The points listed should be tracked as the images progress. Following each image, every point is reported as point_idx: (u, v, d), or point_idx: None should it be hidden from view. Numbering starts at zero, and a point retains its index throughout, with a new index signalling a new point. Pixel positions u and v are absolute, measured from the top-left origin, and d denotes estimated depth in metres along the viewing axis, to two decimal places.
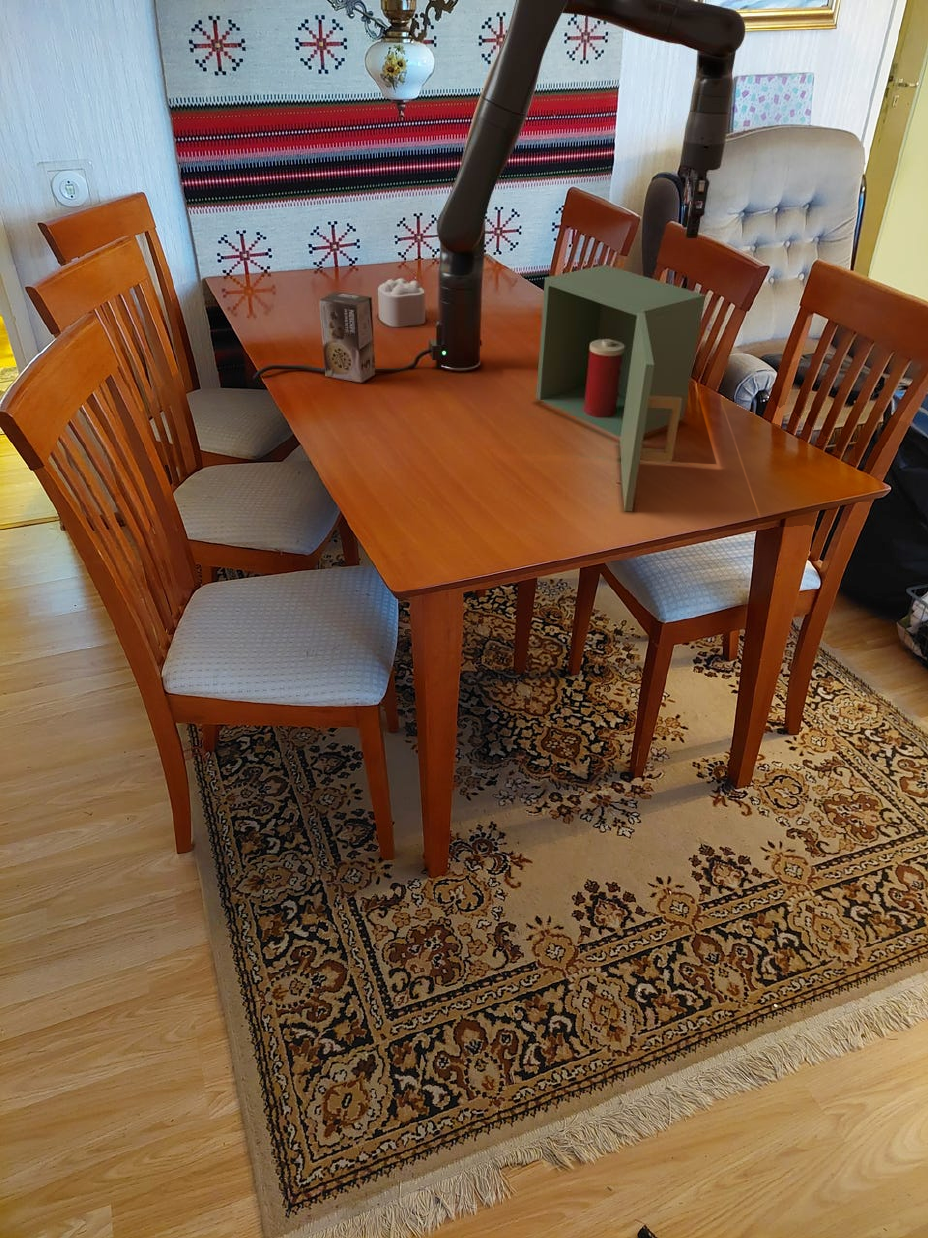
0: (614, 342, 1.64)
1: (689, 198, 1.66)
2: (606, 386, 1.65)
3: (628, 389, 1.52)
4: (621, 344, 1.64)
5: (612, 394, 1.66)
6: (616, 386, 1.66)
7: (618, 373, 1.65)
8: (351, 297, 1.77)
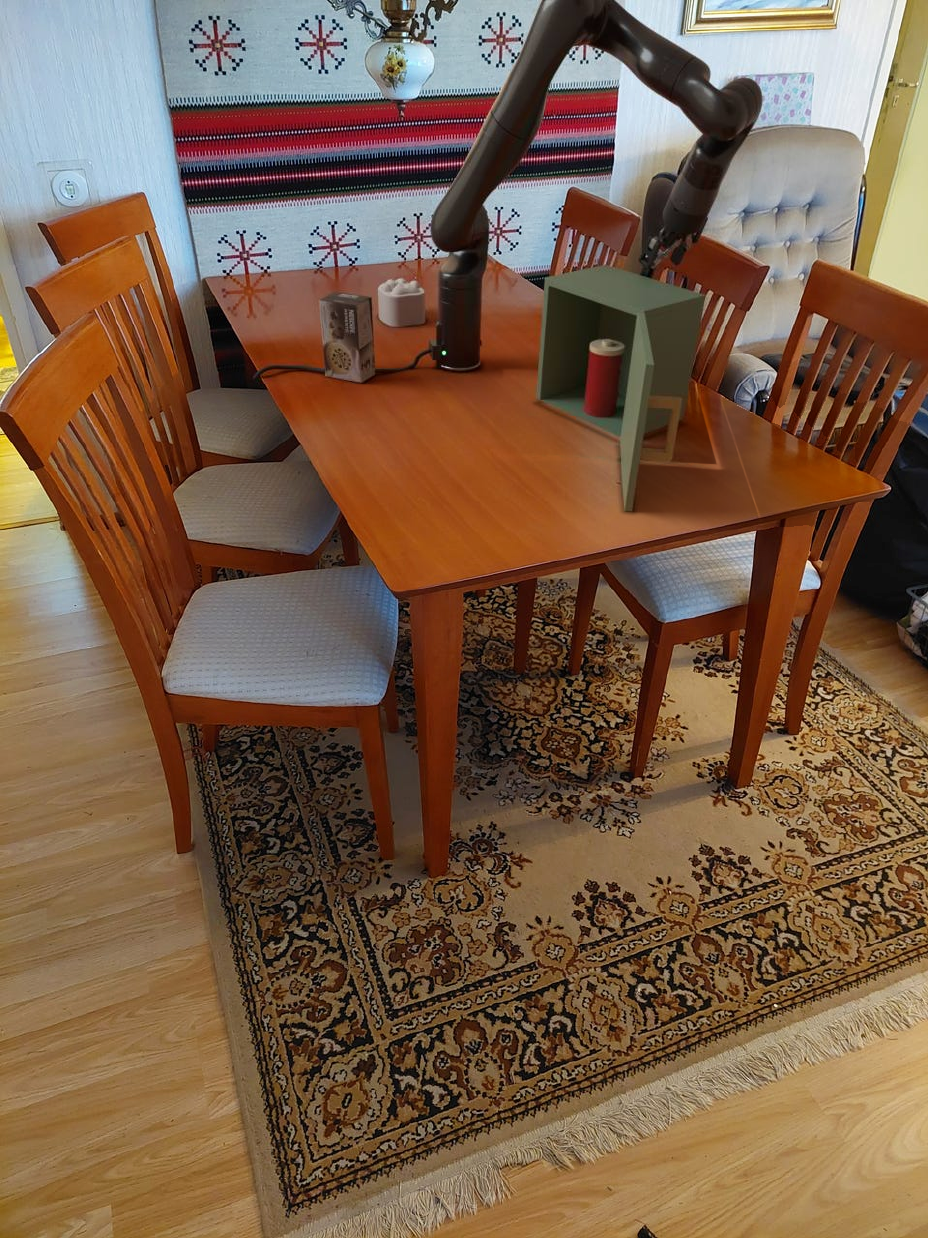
0: (614, 342, 1.64)
1: None
2: (606, 386, 1.65)
3: (628, 389, 1.52)
4: (621, 344, 1.64)
5: (612, 394, 1.66)
6: (616, 386, 1.66)
7: (618, 373, 1.65)
8: (351, 297, 1.77)
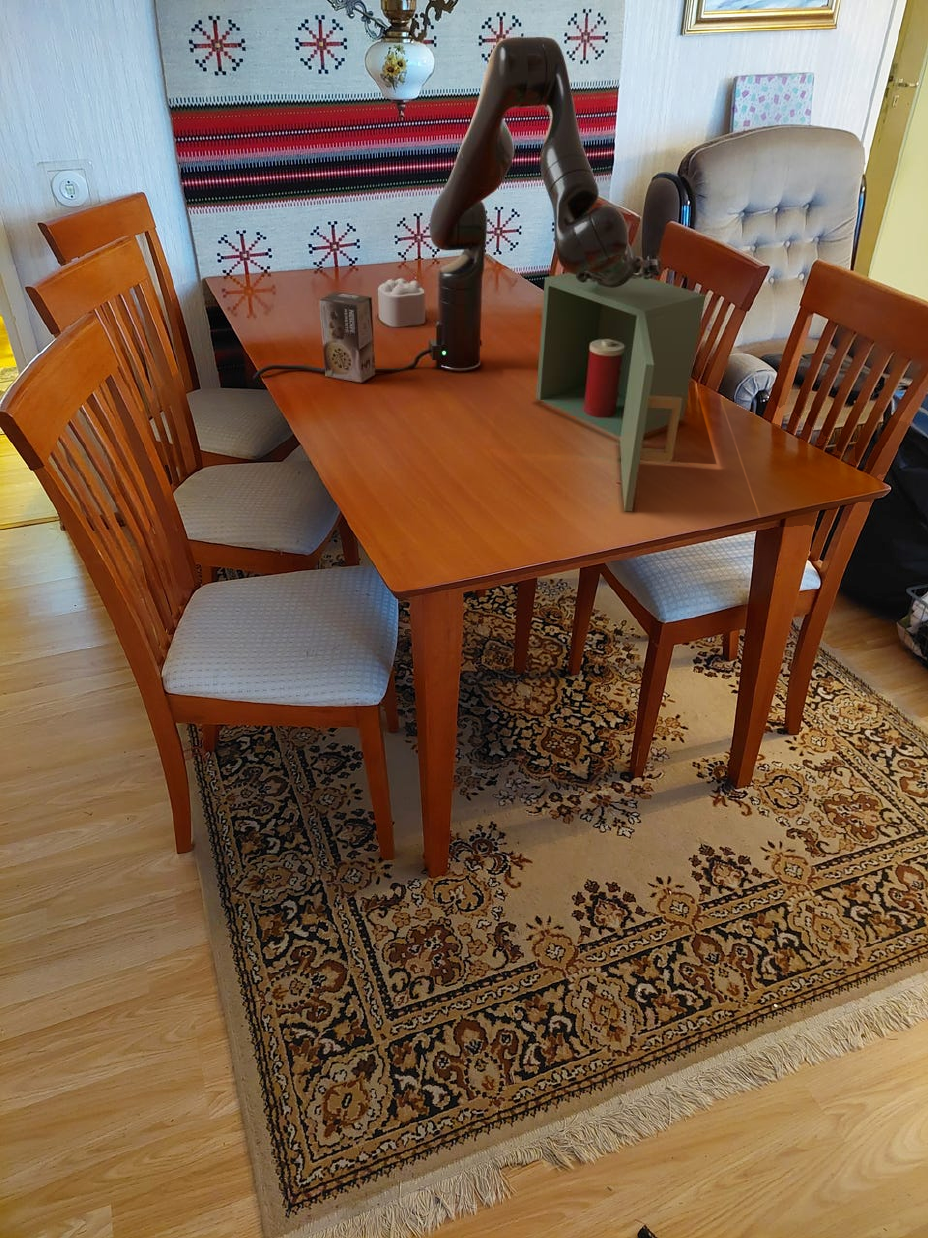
0: (614, 342, 1.64)
1: None
2: (606, 386, 1.65)
3: (628, 389, 1.52)
4: (621, 344, 1.64)
5: (612, 394, 1.66)
6: (616, 386, 1.66)
7: (618, 373, 1.65)
8: (351, 297, 1.77)
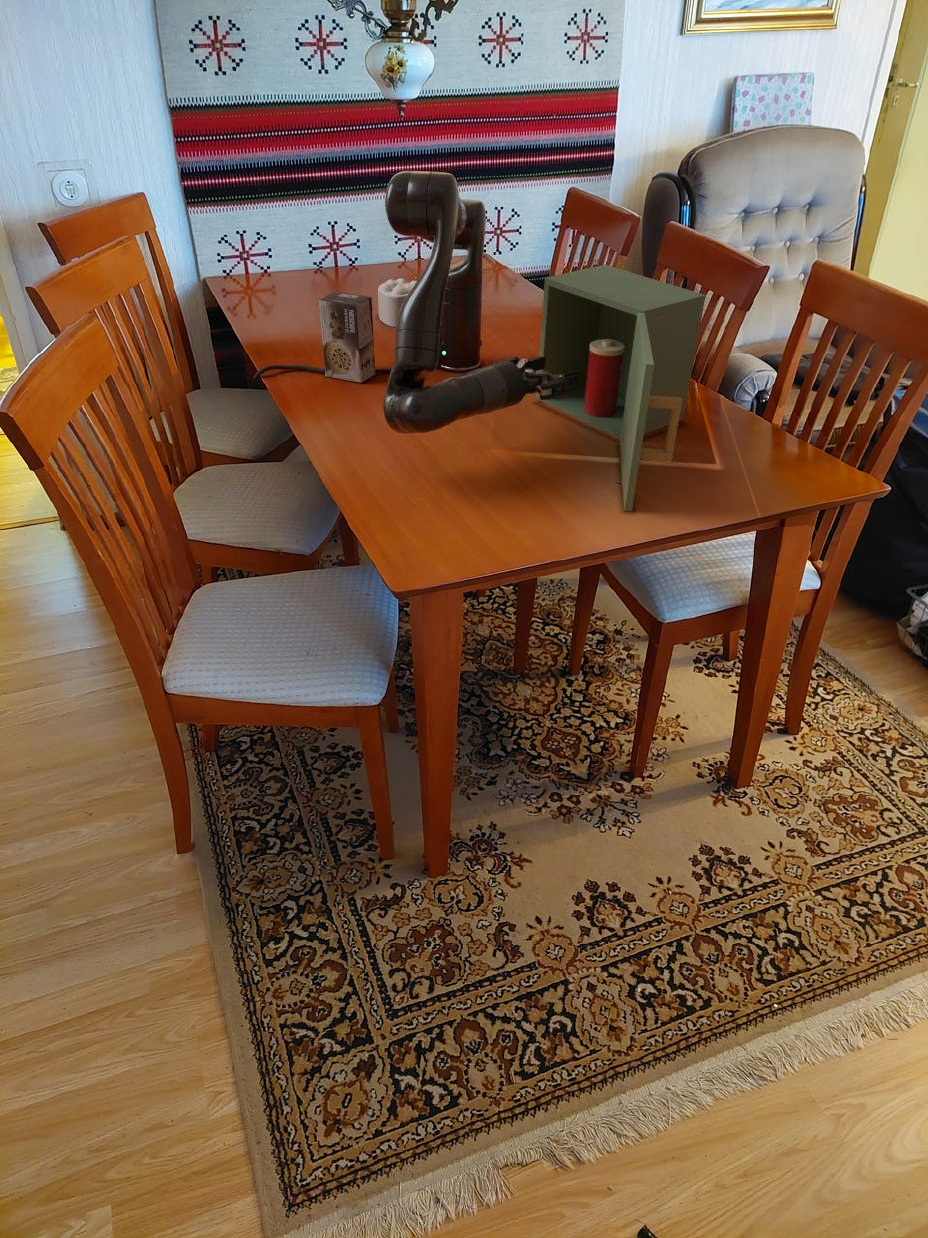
0: (614, 342, 1.64)
1: None
2: (606, 386, 1.65)
3: (628, 389, 1.52)
4: (621, 344, 1.64)
5: (612, 394, 1.66)
6: (616, 386, 1.66)
7: (618, 373, 1.65)
8: (351, 297, 1.77)
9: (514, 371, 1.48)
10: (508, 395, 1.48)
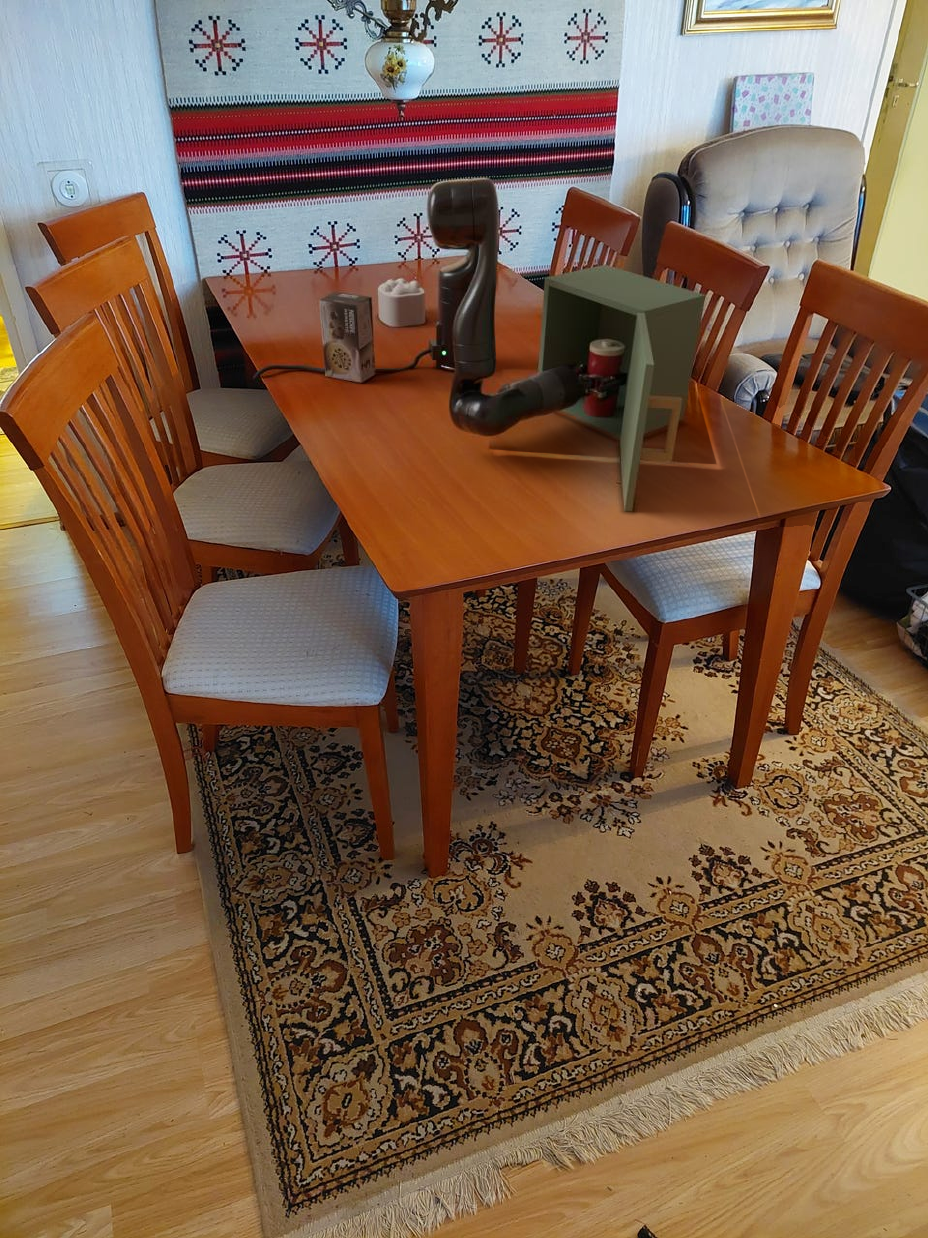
0: (614, 342, 1.64)
1: (575, 367, 1.66)
2: None
3: (628, 389, 1.52)
4: (621, 344, 1.64)
5: None
6: None
7: (618, 373, 1.65)
8: (351, 297, 1.77)
9: (570, 375, 1.58)
10: (565, 398, 1.57)
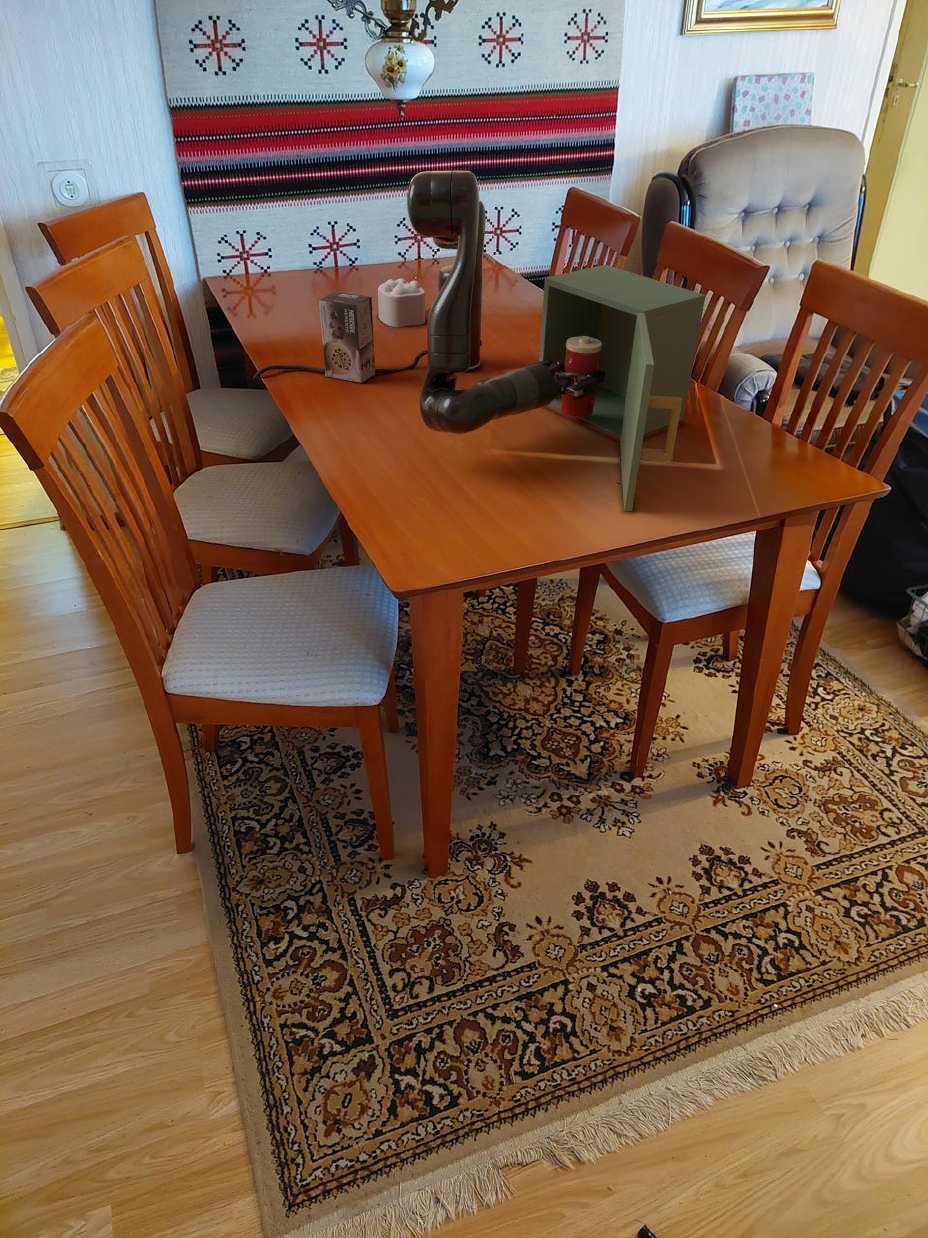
0: (591, 339, 1.60)
1: None
2: None
3: (628, 389, 1.52)
4: (599, 341, 1.59)
5: None
6: None
7: (595, 371, 1.60)
8: (351, 297, 1.77)
9: (545, 373, 1.53)
10: (540, 396, 1.53)
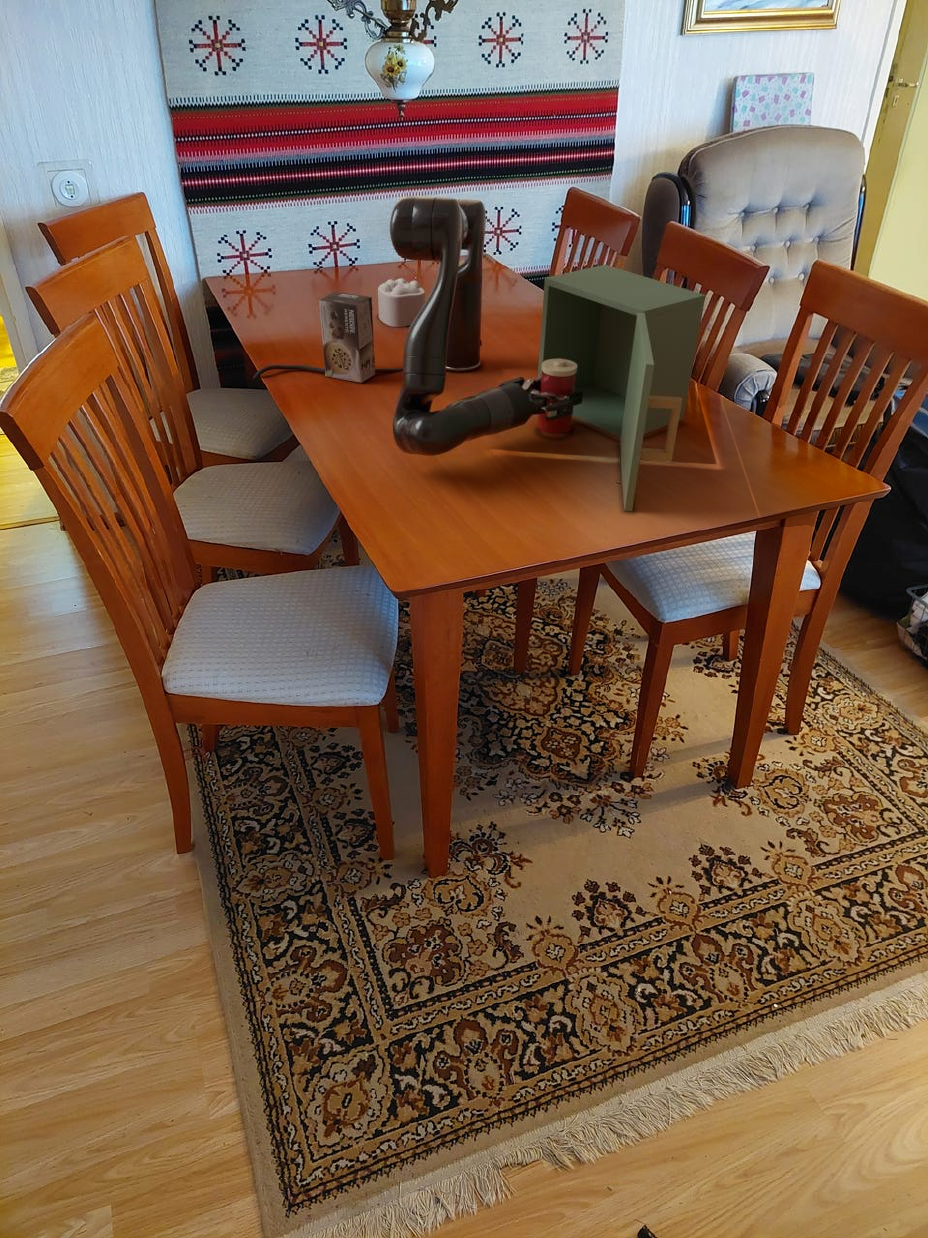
0: (567, 362, 1.59)
1: (524, 383, 1.60)
2: None
3: (628, 389, 1.52)
4: (575, 364, 1.58)
5: None
6: None
7: None
8: (351, 297, 1.77)
9: (520, 393, 1.52)
10: (514, 417, 1.52)
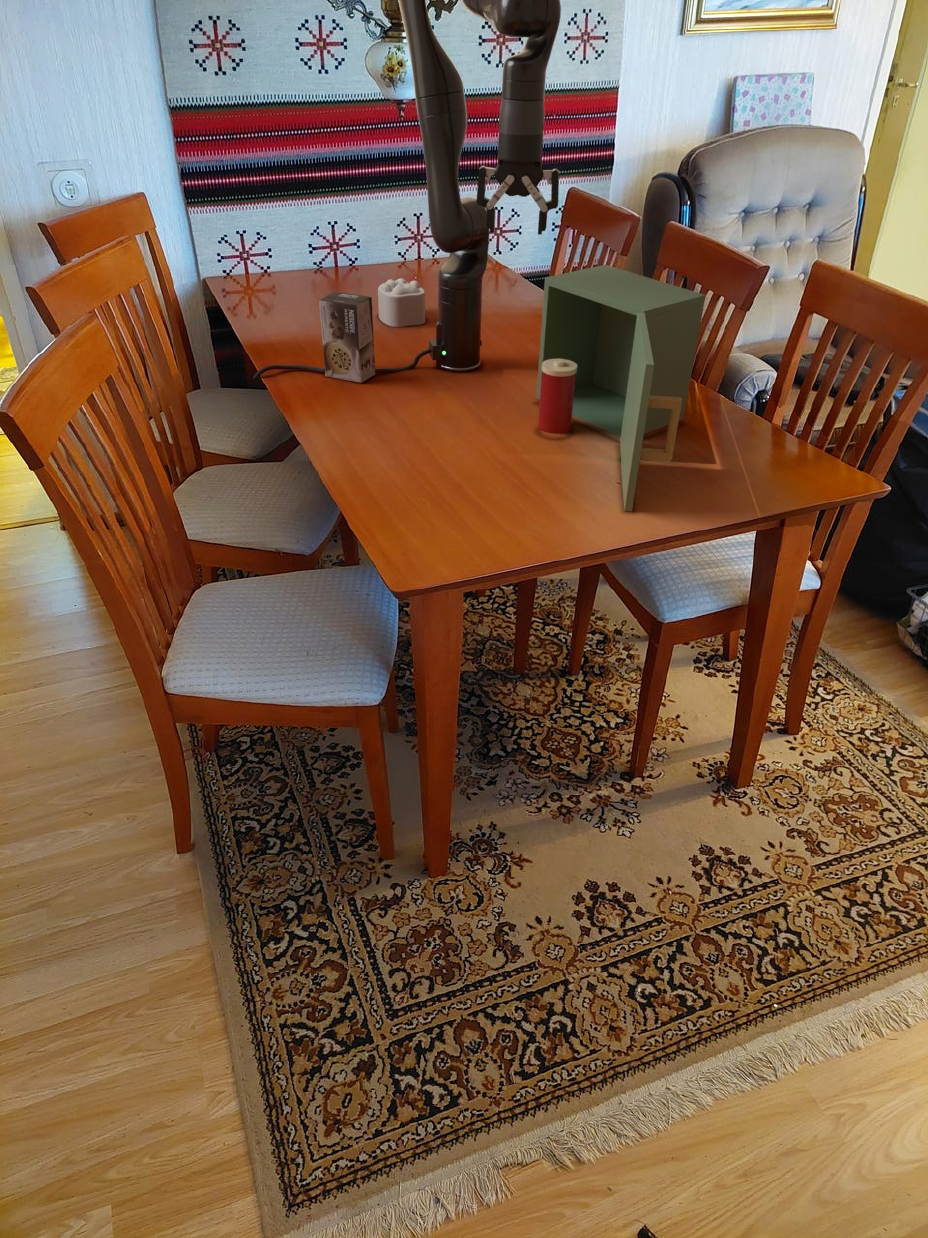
0: (567, 362, 1.59)
1: None
2: (559, 407, 1.59)
3: (628, 389, 1.52)
4: (575, 364, 1.58)
5: (565, 415, 1.61)
6: (570, 407, 1.60)
7: (571, 394, 1.59)
8: (351, 297, 1.77)
9: None
10: None
